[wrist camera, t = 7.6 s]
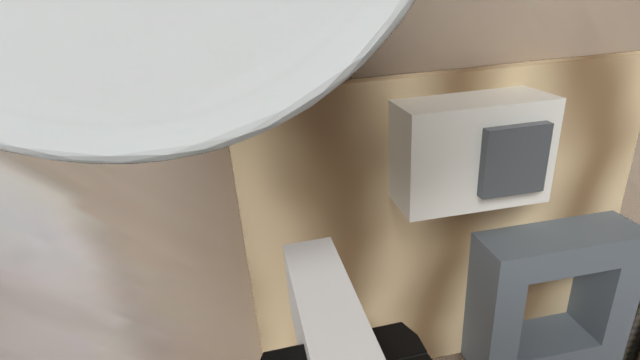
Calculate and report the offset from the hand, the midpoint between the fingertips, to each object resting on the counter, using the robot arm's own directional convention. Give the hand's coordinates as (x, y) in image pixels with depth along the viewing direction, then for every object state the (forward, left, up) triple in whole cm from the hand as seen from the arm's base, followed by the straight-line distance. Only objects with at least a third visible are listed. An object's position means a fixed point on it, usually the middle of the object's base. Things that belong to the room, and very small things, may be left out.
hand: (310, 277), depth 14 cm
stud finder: (+9, +1, -8) cm, 12 cm away
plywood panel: (+9, -5, -9) cm, 13 cm away
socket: (+15, -9, -8) cm, 19 cm away
